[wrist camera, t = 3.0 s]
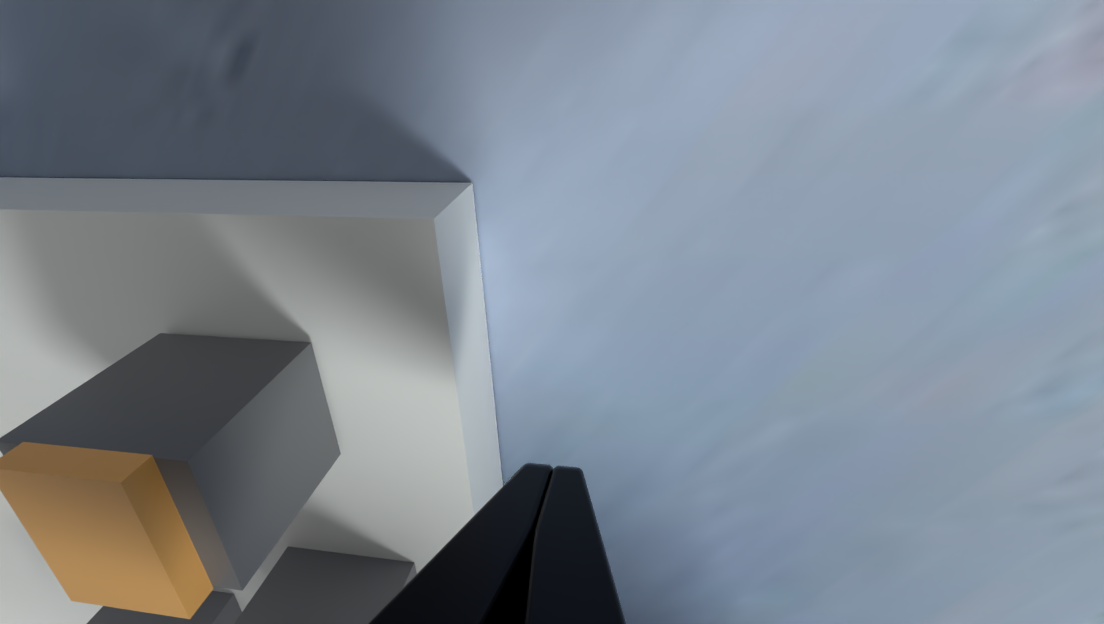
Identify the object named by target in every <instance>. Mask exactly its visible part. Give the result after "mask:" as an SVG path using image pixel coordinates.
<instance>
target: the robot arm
mask: <svg viewBox="0 0 1104 624" xmlns="http://www.w3.org/2000/svg"><path fill="white" fill-rule="evenodd" d="M368 624H626V622H625V618H624V615H623V611H622V608H621V604H620V601H619V597H618V594H617V590H616V587H615V583H614V580H613V576H612V573H611V569H610V566H609V562H608V559H607V555H606V552H605V548H604V545H603V541H602V537H601V534H600V530H599V527H598V523H597V520H596V516H595V513H594V509H593V506H592V502H591V499H590V495H589V492H588V488H587V485H586V481H585V478H584V474H583V471H582V470H581V469H580V468H577V467H567V466H556V467H555V468H554V469H553V467H552V466H550V465H545V464H534V463H527V464H525V465H523V466H522V467H521V468H520V469H519V470H518V471H517V472H516V473H515V474H514V475H513V476H512V477H511V479H510V480H509V481H508V482H507V483H506V484H505V485H504V486H503V487H502V488H501V489H500V490H499V491H498V492H497V493H496V494H495V495H494V496H493V497H492V498H491V499H490V500H489V501H488V502H487V503H486V504H485V505H484V506H483V507H482V508H481V509H480V510H479V511H478V512H477V513H476V514H475V515H474V516H473V517H472V518H471V519H470V520H469V521H468V522H467V523H466V524H465V525H464V526H463V527H462V528H461V529H460V530H459V531H458V533H457V534H456V535H455V536H454V537H453V538H452V539H451V540H450V541H449V542H448V543H447V544H446V545H445V546H444V547H443V548H442V549H441V550H440V551H439V552H438V553H437V554H436V555H435V556H434V557H433V558H432V559H431V560H430V561H429V562H428V563H427V564H426V565H425V566H424V567H423V568H422V569H421V570H420V571H419V572H418V573H417V574H416V575H415V576H414V577H413V578H412V579H411V580H410V581H409V582H408V583H407V584H406V585H405V587H404V588H403V589H402V590H401V591H400V592H399V593H398V594H397V595H396V596H395V597H394V598H393V599H392V600H391V601H390V602H389V603H388V604H387V605H386V606H385V607H384V608H383V609H382V610H381V611H380V612H379V613H378V614H377V615H376V616H375V617H374V618H373V619H372V620H371V621H370V622H369V623H368Z"/></svg>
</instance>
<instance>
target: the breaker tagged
mask: <svg viewBox="0 0 1104 624" xmlns="http://www.w3.org/2000/svg"><path fill="white" fill-rule="evenodd" d="M0 451H1V453H2V454H3V456H2V457H0V490H1V492H2V494H3V495H4V497H5V498H6V500H7V501H8V503H9V504H10V506H11V508H12V509H13V511H14V512H15V514H16V515H17V517H18V519H19V520H20V522H21V523H22V525H23V526H24V528H25V529H26V531H27V533H28V534H29V536H30V537H31V539H32V540H33V542H34V543H35V545H36V547H37V548H38V550H39V551H40V553H41V554H42V556H43V558H44V559H45V561H46V562H47V564H48V565H49V567H50V568H51V570H52V572H53V573H54V575H55V576H56V578H57V579H58V581H59V583H60V584H61V586H62V587H63V589H64V590H65V592H66V593H67V595H68V597H69V598H70V600H71V601H75V602H82V603H88V604H95V605H101V606H108V607H114V608H120V609H127V610H133V611H140V612H146V613H153V614H159V615H166V616H172V617H178V618H185V619H191V617H192V616H193V615H194V613H195V612H196V611H197V609H198V608H199V607H200V606H201V604H202V603H203V602H204V600H205V599H206V598H207V597H208V595H209V594H210V593H211V591H212V590H213V589H214V588H213V586H214V587H221V588H228V589H235V590H242V591H243V589H244V588H245V587H246V585H247V584H248V582H249V581H250V580H251V578H252V577H253V575H254V574H255V573H256V571H257V570H258V568H259V567H260V566H261V564H262V563H263V562H264V560H265V559H266V557H267V556H268V555H269V553H270V552H271V550H272V549H273V548H274V546H275V545H276V543H277V542H278V541H279V539H280V538H281V536H282V535H283V534H284V532H285V531H286V530H287V528H288V527H289V525H290V524H291V523H292V521H293V520H294V518H295V517H296V516H297V514H298V513H299V511H300V510H301V509H302V507H303V506H304V505H305V503H306V502H307V500H308V499H309V498H310V496H311V495H312V493H313V492H314V491H315V489H316V488H317V486H318V485H319V484H320V482H321V481H322V479H323V478H324V477H325V475H326V474H327V473H328V471H329V470H330V468H331V467H332V466H333V464H334V463H335V461H336V460H337V459H338V457H339V456H340V454H341V453H340V449H339V445H338V441H337V437H336V434H335V430H334V426H333V422H332V419H331V415H330V411H329V407H328V403H327V400H326V396H325V392H324V388H323V385H322V381H321V377H320V373H319V369H318V366H317V362H316V358H315V354H314V350H313V347H312V343H311V342H296V341H280V340H264V339H248V338H232V337H216V336H200V335H183V334H167V333H160V334H158V335H156V336H155V337H153V338H152V339H150V340H149V341H147V342H146V343H144V344H143V345H141V346H140V347H138V348H137V349H135V350H134V351H132V352H131V353H129V354H127V355H126V356H124V357H123V358H121V359H120V360H118V361H117V362H115V363H114V364H112V365H111V366H109V367H108V368H106V369H105V370H103V371H102V372H100V373H98V374H97V375H95V376H94V377H92V378H91V379H89V380H88V381H86V382H85V383H83V384H82V385H80V386H79V387H77V388H76V389H74V390H73V391H71V392H69V393H68V394H66V395H65V396H63V397H62V398H60V399H59V400H57V401H56V402H54V403H53V404H51V405H50V406H48V407H47V408H45V409H44V410H42V411H40V412H39V413H37V414H36V415H34V416H33V417H31V418H30V419H28V420H27V421H25V422H24V423H22V424H21V425H19V426H18V427H16V428H15V429H13V430H11V431H10V432H8V433H7V434H5V435H4V436H2V437H1V438H0Z"/></svg>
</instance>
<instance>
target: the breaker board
mask: <svg viewBox="0 0 1104 624" xmlns="http://www.w3.org/2000/svg"><path fill="white" fill-rule="evenodd" d="M160 333H167V334H183V335H200V336H216V337H232V338H248V339H264V340H280V341H296V342H311V343H312V347H313V350H314V354H315V358H316V362H317V366H318V369H319V373H320V377H321V381H322V385H323V388H324V392H325V396H326V400H327V403H328V407H329V411H330V415H331V419H332V422H333V426H334V430H335V434H336V437H337V441H338V445H339V449H340V453H341V454H340V456H339V457H338V459H337V460H336V461H335V463H334V464H333V466H332V467H331V468H330V470H329V471H328V473H327V474H326V475H325V477H324V478H323V479H322V481H321V482H320V484H319V485H318V486H317V488H316V489H315V491H314V492H313V493H312V495H311V496H310V498H309V499H308V500H307V502H306V503H305V505H304V506H303V507H302V509H301V510H300V511H299V513H298V514H297V516H296V517H295V518H294V520H293V521H292V523H291V524H290V525H289V527H288V528H287V530H286V531H285V532H284V534H283V535H282V536H281V538H280V539H279V541H278V542H277V543H276V545H275V546H274V548H273V549H272V550H271V552H270V553H269V555H268V556H267V557H266V559H265V560H264V562H263V563H262V564H261V566H260V567H259V568H258V570H257V571H256V573H255V574H254V575H253V577H252V578H251V580H250V581H249V582H248V584H247V585H246V587H245V588H244V589H243V591H242V590H235V589H228V588H221V587H214V586H213V588H214V589H213V590H212V591H211V593H210V594H209V595H208V597H207V598H206V599H205V600H204V602H203V603H202V604H201V606H200V607H199V608H198V609H197V611H196V612H195V613H194V615H193V616H192V617H191V619H185V618H178V617H172V616H166V615H159V614H153V613H146V612H140V611H133V610H127V609H120V608H114V607H108V606H101V605H95V604H88V603H82V602H75V601H71V600H70V598H69V597H68V595H67V593H66V592H65V590H64V589H63V587H62V586H61V584H60V583H59V581H58V579H57V578H56V576H55V575H54V573H53V572H52V570H51V568H50V567H49V565H48V564H47V562H46V561H45V559H44V558H43V556H42V554H41V553H40V551H39V550H38V548H37V547H36V545H35V543H34V542H33V540H32V539H31V537H30V536H29V534H28V533H27V531H26V529H25V528H24V526H23V525H22V523H21V522H20V520H19V519H18V517H17V515H16V514H15V512H14V511H13V509H12V508H11V506H10V504H9V503H8V501H7V500H6V498H5V497H4V495H3V494H2V492H1V490H0V624H368V623H369V622H370V621H371V620H372V619H373V618H374V617H375V616H376V615H377V614H378V613H379V612H380V611H381V610H382V609H383V608H384V607H385V606H386V605H387V604H388V603H389V602H390V601H391V600H392V599H393V598H394V597H395V596H396V595H397V594H398V593H399V592H400V591H401V590H402V589H403V588H404V587H405V585H406V584H407V583H408V582H409V581H410V580H411V579H412V578H413V577H414V576H415V575H416V574H417V573H418V572H419V571H420V570H421V569H422V568H423V567H424V566H425V565H426V564H427V563H428V562H429V561H430V560H431V559H432V558H433V557H434V556H435V555H436V554H437V553H438V552H439V551H440V550H441V549H442V548H443V547H444V546H445V545H446V544H447V543H448V542H449V541H450V540H451V539H452V538H453V537H454V536H455V535H456V534H457V533H458V531H459V530H460V529H461V528H462V527H463V526H464V525H465V524H466V523H467V522H468V521H469V520H470V519H471V518H472V517H473V516H474V515H475V514H476V513H477V512H478V511H479V510H480V509H481V508H482V507H483V506H484V505H485V504H486V503H487V502H488V501H489V500H490V499H491V498H492V497H493V496H494V495H495V494H496V493H497V492H498V491H499V490H500V489H501V488H502V487H503V481H502V471H501V461H500V451H499V441H498V431H497V421H496V411H495V401H494V391H493V381H492V371H491V361H490V351H489V342H488V332H487V322H486V312H485V302H484V292H483V282H482V272H481V262H480V252H479V242H478V232H477V222H476V212H475V202H474V192H473V183H453V182H365V181H277V180H189V179H101V178H13V177H0V438H1V437H2V436H4V435H5V434H7V433H8V432H10V431H11V430H13V429H15V428H16V427H18V426H19V425H21V424H22V423H24V422H25V421H27V420H28V419H30V418H31V417H33V416H34V415H36V414H37V413H39V412H40V411H42V410H44V409H45V408H47V407H48V406H50V405H51V404H53V403H54V402H56V401H57V400H59V399H60V398H62V397H63V396H65V395H66V394H68V393H69V392H71V391H73V390H74V389H76V388H77V387H79V386H80V385H82V384H83V383H85V382H86V381H88V380H89V379H91V378H92V377H94V376H95V375H97V374H98V373H100V372H102V371H103V370H105V369H106V368H108V367H109V366H111V365H112V364H114V363H115V362H117V361H118V360H120V359H121V358H123V357H124V356H126V355H127V354H129V353H131V352H132V351H134V350H135V349H137V348H138V347H140V346H141V345H143V344H144V343H146V342H147V341H149V340H150V339H152V338H153V337H155V336H156V335H158V334H160ZM2 456H3V454H2V453H1V451H0V457H2Z"/></svg>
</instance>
